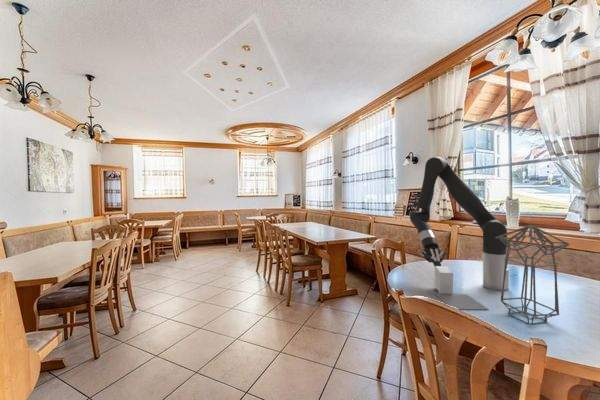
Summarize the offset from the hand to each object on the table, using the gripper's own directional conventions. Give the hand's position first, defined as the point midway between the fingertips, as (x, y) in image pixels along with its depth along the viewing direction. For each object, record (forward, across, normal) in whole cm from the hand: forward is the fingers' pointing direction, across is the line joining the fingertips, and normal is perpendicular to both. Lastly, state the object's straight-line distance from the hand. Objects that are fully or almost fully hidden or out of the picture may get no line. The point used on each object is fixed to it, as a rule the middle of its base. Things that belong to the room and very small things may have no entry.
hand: (439, 269), depth 124 cm
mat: (+18, +1, -4) cm, 19 cm away
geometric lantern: (+28, +18, -15) cm, 37 cm away
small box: (+9, 0, +4) cm, 10 cm away
